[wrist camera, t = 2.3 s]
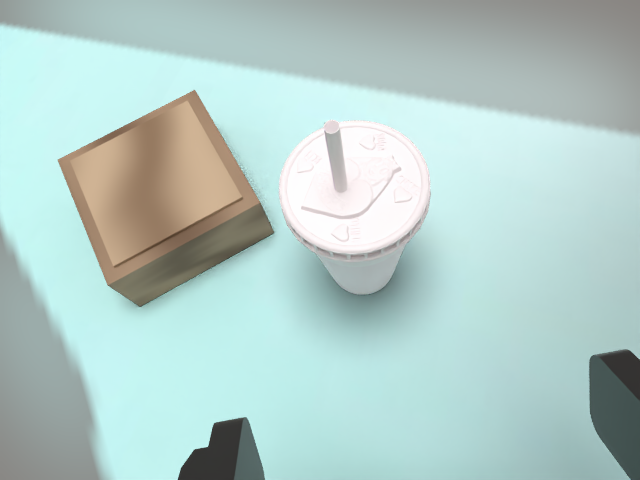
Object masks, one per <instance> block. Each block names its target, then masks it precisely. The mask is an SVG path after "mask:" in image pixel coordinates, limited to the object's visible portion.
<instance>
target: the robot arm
mask: <svg viewBox="0 0 640 480" xmlns="http://www.w3.org/2000/svg"><path fill="white" fill-rule="evenodd" d="M589 378H590V414H591V418H592V422H593V425H594V427H595V430H596V432H597V434H598V435H599V437H600V439H601V440H602V441H603V443H604V444H605V445H606V447H607V448H608V449H609V451H610V452H611V453H612V455H613V456H614V458H615V459H616V460H617V462H618V463H619V464H620V466H621V467H622V468H623V470H624V471H625V472H626V474H627V475H628V476H629V478H630V479H631V480H640V360H639V359H638V358H637V357H636V356H635V355H634V354H633V353H632V352H631V351H629V350H626V349H625V350H619V351H614V352H608V353H603V354H597V355H593V356H591V358H590V362H589ZM178 480H265V478H264V471H263V467H262V463H261V460H260V457H259V453H258V450H257V447H256V443H255V440H254V437H253V434H252V430H251V427H250V424H249V421H248V419H247V418H246V417H244V418H238V419H233V420H227V421H222V422H216V423H214V425H213V428H212V432H211V437H210V441H209V446H208V447H206V448H200V449H195V450H194V451H193V452H192V454H191V455H190V456H189V458H188V459H187V461H186V462H185V463H184V465H183V466H182V468H181V470H180V474H179V477H178Z"/></svg>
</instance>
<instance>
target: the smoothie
mask: <svg viewBox="0 0 640 480" xmlns="http://www.w3.org/2000/svg"><path fill="white" fill-rule="evenodd" d="M430 195H431V192H430V176H429V171H428V167H427V164H426V162H425V160H424V158H423V156H422V154H421V152H420V151H419V150H418V148H417V147H416V146H415V145H414V144H413V142H412V141H410V140H409V139H408V138H407V137H406V136H404V135H403V134H402V133H400V132H398V131H397V130H395V129H393V128H391V127H389V126H386V125H383V124H380V123H376V122H370V121H356V120H354V121H344V122H339V123H338V122H337V121H335V120H329V121H327V122H326V123H325V124H324V127H323V128H321V129H319V130H317V131H315V132H313V133H312V134H310V135H309V136H307V137H306V138H305V139H304V140H302V141H301V142H300V143H299V144H298V145H297V146H296V147H295V148H294V150H293V151H292V152H291V154H290V155H289V157H288V158H287V160H286V162H285V164H284V166H283V169H282V172H281V176H280V181H279V198H280V203H281V207H282V211H283V214H284V217H285V220H286V223H287V226H288V227H289V228H290V230H291V231H292V233H293V234H294V235H295V237H296V238H297V240H298V241H300V242H301V243H302V244H303V245H305V246H306V247H307V248H308V249H310V250H311V251H312V252H314V253H316V255H317V256H318V257H319V259H320V260H321V262H322V263H323V264H324V266H325V267H326V269H327V270H328V271H329V273H330V274H331V276H332V277H333V278H334V280H335V281H336V282H337V284H338V285H339V286H340V287H341V288H343V289H344V290H346V291H348V292H350V293H353V294H358V295H366V294H371V293H374V292H377V291H379V290H380V289H382V288H383V287H384V286H385V285H386V284H387V283H388V282H389V281H390V279H391V277H392V275H393V273H394V270H395V268H396V266H397V263H398V261H399V259H400V257H401V254H402V252H403V250H404V247H405V245H406V243H408V242H409V240H410V239H411V238H412V237H413V236H414V235H415V234H416V232H417V231H418V230H419V229H420V227H421V225H422V223H423V221H424V219H425V217H426V215H427V213H428V209H429V202H430Z"/></svg>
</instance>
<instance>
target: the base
mask: <svg viewBox="0 0 640 480" xmlns="http://www.w3.org/2000/svg"><path fill="white" fill-rule="evenodd" d="M58 162H59V165H60V167H61V170H62V172H63V175H64V177H65V180H66V182H67V185H68V187H69V190H70V192H71V195H72V197H73V200H74V202H75V205H76V207H77V210H78V212H79V215H80V217H81V220H82V222H83V225H84V227H85V230H86V232H87V235H88V237H89V240H90V242H91V245H92V247H93V250H94V252H95V255H96V257H97V260H98V262H99V265H100V267H101V270H102V272H103V275H104V277H105V280H106V282H107V285H108V286H109V287H111V288H112V289H114V290H115V291H117V292H118V293H120V294H122V295H123V296H125V297H126V298H128V299H129V300H131V301H132V302H134V303H135V304H137V305H138V306H142V305H144V304H146V303H148V302H149V301H151V300H153V299H155V298H157V297H159V296H160V295H162V294H164V293H166V292H168V291H169V290H171V289H173V288H175V287H177V286H179V285H180V284H182V283H184V282H186V281H188V280H189V279H191V278H193V277H195V276H197V275H199V274H200V273H202V272H204V271H206V270H208V269H209V268H211V267H213V266H215V265H217V264H219V263H220V262H222V261H224V260H226V259H228V258H229V257H231V256H233V255H235V254H237V253H239V252H240V251H242V250H244V249H246V248H248V247H249V246H251V245H253V244H255V243H257V242H259V241H260V240H262V239H264V238H266V237H268V236H269V235H271V234H273V233H274V231H273V229H272V227H271V224H270V222H269V220H268V218H267V216H266V214H265V212H264V209H263V207H262V205H261V203H260V201H259V200H258V198H257V196H256V194H255V193H254V191H253V189H252V187H251V186H250V184H249V182H248V181H247V179H246V177H245V175H244V174H243V172H242V170H241V169H240V167H239V165H238V163H237V162H236V160H235V158H234V156H233V155H232V153H231V151H230V150H229V148H228V146H227V144H226V143H225V141H224V139H223V137H222V136H221V134H220V132H219V131H218V129H217V127H216V125H215V124H214V122H213V120H212V119H211V117H210V115H209V113H208V112H207V110H206V108H205V106H204V105H203V103H202V101H201V100H200V98H199V96H198V94H197V93H196V91H195V90H194V91H192V92H190V93H188V94H186V95H184V96H182V97H180V98H178V99H176V100H174V101H172V102H170V103H168V104H166V105H164V106H162V107H160V108H158V109H156V110H154V111H153V112H151V113H149V114H147V115H145V116H143V117H141V118H139V119H137V120H135V121H133V122H131V123H129V124H127V125H125V126H123V127H121V128H119V129H117V130H115V131H113V132H111V133H109V134H107V135H105V136H104V137H102V138H100V139H98V140H96V141H94V142H92V143H90V144H88V145H86V146H84V147H82V148H80V149H78V150H76V151H74V152H72V153H70V154H68V155H66V156H64V157H62V158H60V159H58Z"/></svg>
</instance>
